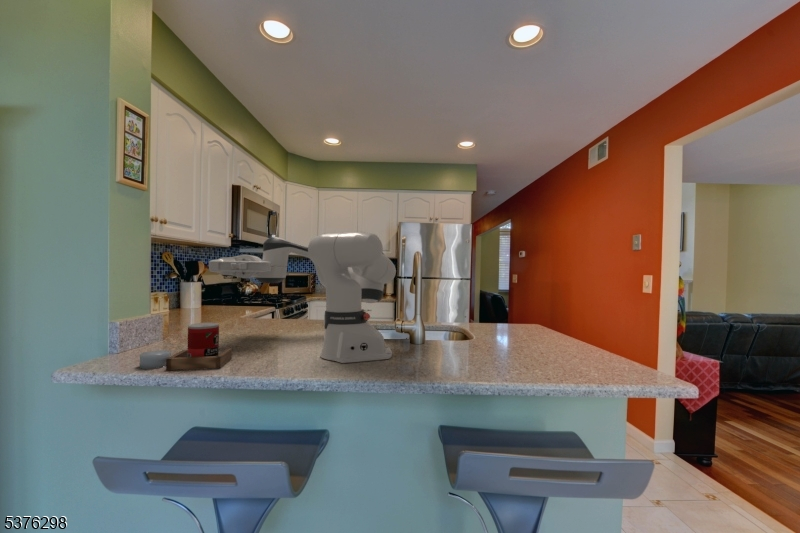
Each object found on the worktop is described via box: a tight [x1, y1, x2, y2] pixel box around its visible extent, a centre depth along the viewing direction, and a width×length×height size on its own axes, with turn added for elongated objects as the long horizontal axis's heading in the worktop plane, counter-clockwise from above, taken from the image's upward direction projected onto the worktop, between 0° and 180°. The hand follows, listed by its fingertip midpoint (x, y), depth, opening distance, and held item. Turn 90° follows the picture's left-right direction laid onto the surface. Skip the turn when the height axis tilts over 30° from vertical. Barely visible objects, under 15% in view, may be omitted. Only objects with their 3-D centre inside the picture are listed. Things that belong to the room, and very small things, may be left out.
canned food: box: [187, 322, 220, 357], centre depth 99 cm, size 8×8×11 cm
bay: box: [165, 348, 233, 371], centre depth 98 cm, size 13×10×3 cm
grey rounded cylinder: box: [139, 349, 171, 370], centre depth 96 cm, size 7×7×4 cm
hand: (235, 266), depth 116 cm, fingers closed
